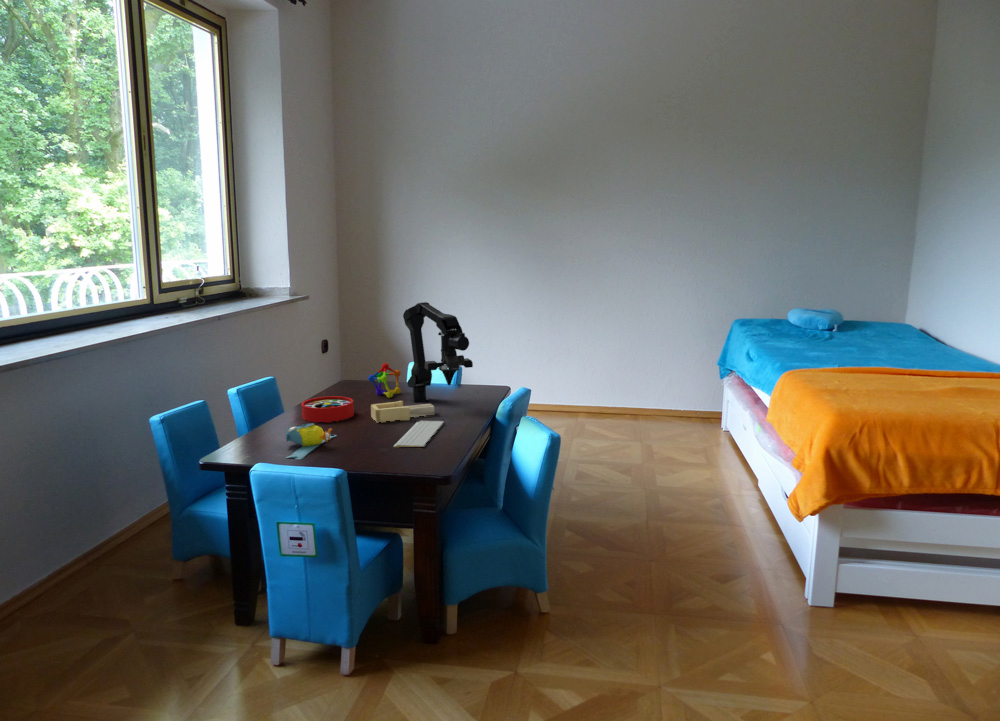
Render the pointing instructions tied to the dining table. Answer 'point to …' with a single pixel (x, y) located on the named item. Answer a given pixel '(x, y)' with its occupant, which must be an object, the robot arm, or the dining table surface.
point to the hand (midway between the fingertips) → (449, 385)
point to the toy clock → (327, 409)
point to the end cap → (390, 412)
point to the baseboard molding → (419, 434)
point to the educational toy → (383, 378)
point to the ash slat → (420, 410)
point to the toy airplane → (307, 438)
